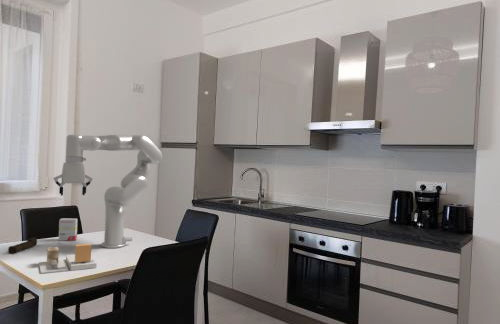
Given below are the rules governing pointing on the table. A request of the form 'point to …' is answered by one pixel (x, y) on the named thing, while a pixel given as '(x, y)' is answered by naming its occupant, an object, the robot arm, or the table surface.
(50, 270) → the tool mat
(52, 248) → the tan block on stem
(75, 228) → the ink box
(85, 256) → the slide tab
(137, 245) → the table surface
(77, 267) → the switch housing
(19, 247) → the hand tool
